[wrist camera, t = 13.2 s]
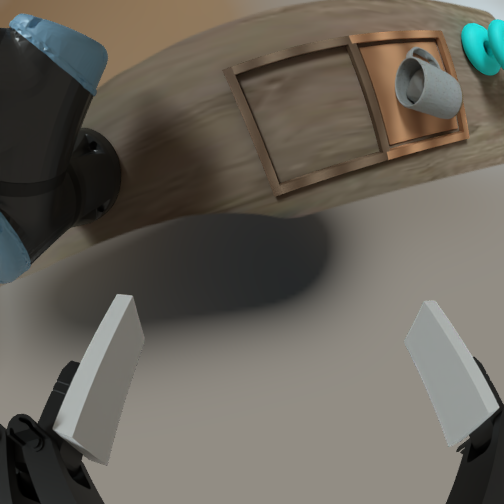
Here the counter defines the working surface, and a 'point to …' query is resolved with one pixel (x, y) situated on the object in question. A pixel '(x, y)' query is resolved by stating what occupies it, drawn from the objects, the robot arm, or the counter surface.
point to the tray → (383, 81)
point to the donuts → (495, 41)
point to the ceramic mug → (427, 86)
